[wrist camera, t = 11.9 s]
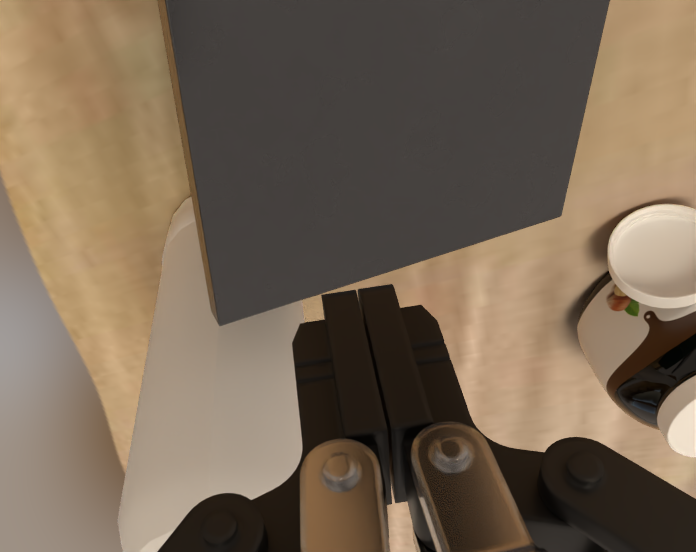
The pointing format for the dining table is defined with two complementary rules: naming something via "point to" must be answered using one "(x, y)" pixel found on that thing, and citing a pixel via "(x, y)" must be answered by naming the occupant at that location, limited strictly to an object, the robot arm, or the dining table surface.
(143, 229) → the dining table surface
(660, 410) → the spread jar
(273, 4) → the dark gray flat panel
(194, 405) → the bottle
